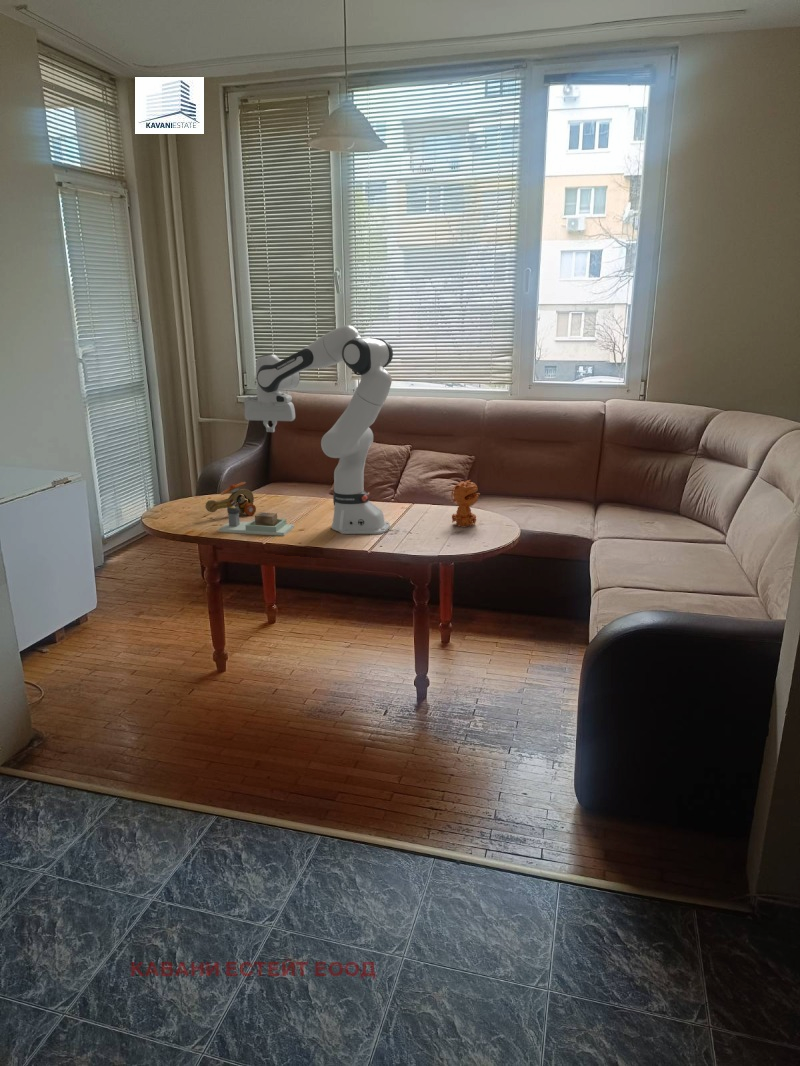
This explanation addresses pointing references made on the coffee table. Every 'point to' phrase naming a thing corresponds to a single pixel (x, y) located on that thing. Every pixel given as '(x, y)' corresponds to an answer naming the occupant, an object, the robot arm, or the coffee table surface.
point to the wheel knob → (233, 510)
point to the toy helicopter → (235, 500)
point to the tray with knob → (255, 527)
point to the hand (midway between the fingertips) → (270, 431)
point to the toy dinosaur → (464, 502)
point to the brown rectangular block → (266, 519)
